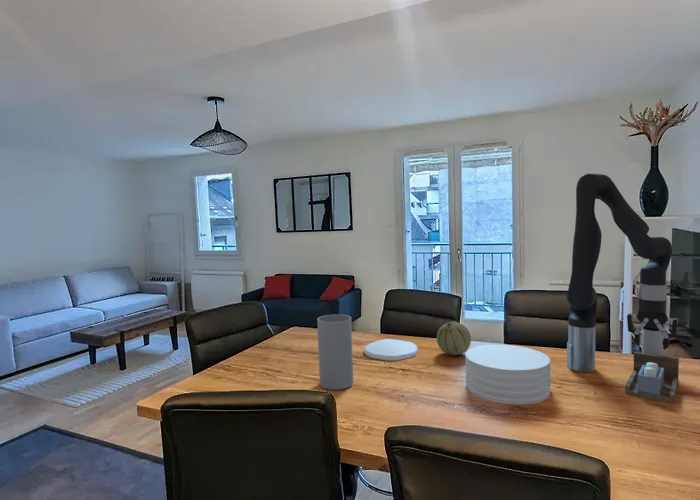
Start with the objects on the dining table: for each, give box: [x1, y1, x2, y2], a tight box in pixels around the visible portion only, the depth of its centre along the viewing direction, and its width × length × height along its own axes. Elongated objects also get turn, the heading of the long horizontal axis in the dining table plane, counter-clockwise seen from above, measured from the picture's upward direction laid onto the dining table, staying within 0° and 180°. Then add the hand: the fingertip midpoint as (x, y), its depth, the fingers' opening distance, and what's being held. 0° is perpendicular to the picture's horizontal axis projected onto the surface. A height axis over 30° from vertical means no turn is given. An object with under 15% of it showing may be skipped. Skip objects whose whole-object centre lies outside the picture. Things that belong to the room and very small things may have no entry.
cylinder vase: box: [316, 314, 354, 391], centre depth 158 cm, size 12×12×25 cm
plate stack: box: [464, 344, 551, 405], centre depth 151 cm, size 28×28×12 cm
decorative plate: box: [363, 338, 419, 361], centre depth 197 cm, size 25×4×25 cm
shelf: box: [624, 351, 680, 405], centre depth 145 cm, size 20×13×9 cm, turn 139°
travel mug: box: [641, 327, 664, 356], centre depth 160 cm, size 6×7×20 cm
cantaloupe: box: [436, 321, 472, 356], centre depth 188 cm, size 15×15×15 cm
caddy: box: [637, 362, 664, 397], centre depth 142 cm, size 12×6×8 cm, turn 139°
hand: (651, 346), depth 142 cm, fingers open, 6 cm apart
